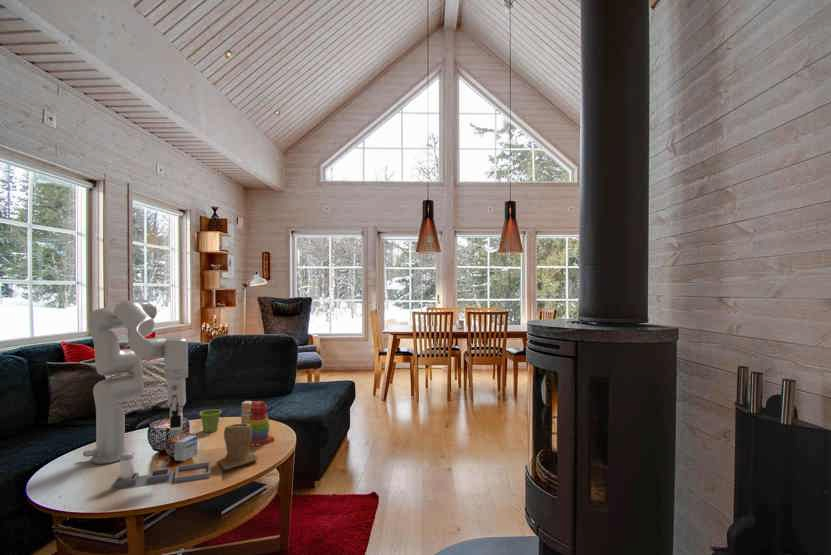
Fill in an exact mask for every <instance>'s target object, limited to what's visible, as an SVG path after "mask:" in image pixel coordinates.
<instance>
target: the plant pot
mask: <svg viewBox="0 0 831 555" xmlns="http://www.w3.org/2000/svg"><path fill="white" fill-rule="evenodd" d="M221 413H222V410H221V409H206V410H202V411H200V412H199V416H200V418H201V425H202V429H203V430H202V431H203V432H204V433H213V431H214V432H216V431H217V430H218V427H219V421H220V416H221Z"/></svg>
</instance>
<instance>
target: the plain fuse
mask: <svg viewBox="0 0 831 555" xmlns="http://www.w3.org/2000/svg"><path fill="white" fill-rule="evenodd" d="M119 466H120V467H119V471H120V472H119V473H120V474H119V475H120V481H121V480H129V479H134V473H135V452H134V451H128V452H124V453H122V454H120V461H119Z"/></svg>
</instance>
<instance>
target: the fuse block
mask: <svg viewBox="0 0 831 555" xmlns="http://www.w3.org/2000/svg"><path fill="white" fill-rule="evenodd" d="M171 469H172V468H170V467H169V468H163V469H155V470H151V471H150V474H145V475H140V474H139V472H134V479H129V480H121V481H120V474H119V475H118V476H117V478H116V479H115V481H114V483H113V485H112V487H111V489H110V492H112V491H121V490H126V489H127V490H128V489H135V488H141V487H142V488H143V487H149V486H155V485H156V486H157V485H161V484H162V485H163V484H169V483H172V482H173V479H174V475H175V471H172V470H171Z"/></svg>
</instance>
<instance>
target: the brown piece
mask: <svg viewBox="0 0 831 555" xmlns="http://www.w3.org/2000/svg"><path fill="white" fill-rule="evenodd" d="M223 431H224V432H223V438H224V442H225V447H226V452H227V453H226V455H225V456H224V457H223V458H221V459H219V460H217V464H219V465H220V467H221V470H222V471H225V470H229V469H233V468H236V467H237V468H238V467H240V466H243V465H247V464H248V463H251V462H255V461H256V460H258V459H259V457H258V456H257V455H256V454H254V453H251V451H250V447H251V445H250V443H251V440H252V427H251V425H250V424H241V423H236V424H229V425H226V426H225V428H224V430H223Z"/></svg>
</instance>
